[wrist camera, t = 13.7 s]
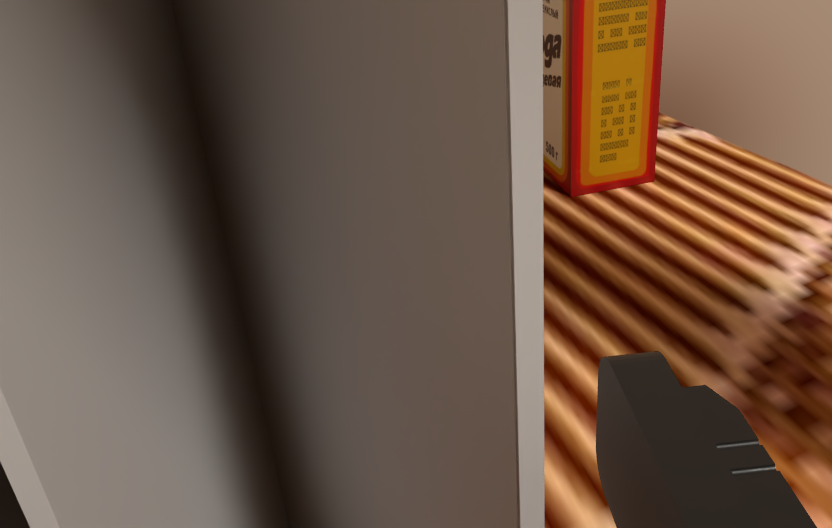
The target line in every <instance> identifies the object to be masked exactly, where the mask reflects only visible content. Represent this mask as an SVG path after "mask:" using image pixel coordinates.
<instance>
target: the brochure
mask: <svg viewBox="0 0 832 528" xmlns="http://www.w3.org/2000/svg"><path fill="white" fill-rule="evenodd" d="M0 462H1V464H2V466H3V469H4V471H5V473H6V475H7V477H8V480H9V482H10V484H11V486H12V489H13V491H14V493H15V495H16V497H17V500H18V502H19V504H20V506H21V509H22V511H23V513H24V515H25V517H26V520H27V522H28V524H29V526H30V528H544V254H543V0H0Z"/></svg>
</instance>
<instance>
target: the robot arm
mask: <svg viewBox="0 0 832 528" xmlns="http://www.w3.org/2000/svg"><path fill="white" fill-rule="evenodd" d="M596 455H597V464H598V470H599V476H600V480H601V484H602V488H603V491H604V494H605V497H606V500H607V502H608V505H609V508H610V510H611V513H612V516H613V518H614V521H615V524H616V526H617V528H817V527H816V525H815V524H814V522H813V521H812V519H811V518H810V516H809V515H808V513H807V512H806V510H805V509H804V507H803V506H802V504H801V503H800V501H799V500H798V498H797V497H796V495H795V494H794V492H793V491H792V489H791V488H790V486H789V485H788V483H787V482H786V480H785V479H784V477H783V475H782V474H781V472H780V471H776V469H775V463H774V462H773V460H772V459H771V457H770V456H769V454H768V453H767V451H766V450H765V448H764V447H763V445H759V442H758V438H757V436H756V435H755V433H754V432H753V430H752V429H751V427H750V426H749V424H748V423H747V421H746V420H745V418H744V417H743V415H742V414H741V412H740V411H739V409H738V408H736V407H735V406H734V405H732V404H731V403H730V402H728V401H727V400H725V399H724V398H723V397H721V396H720V395H719V394H717V393H716V392H714V391H713V390H712V389H710V388H709V387H708V386H706V385H701V386H692V387H683V388H682V386H681V385H680V383H679V381H678V379H677V378H676V376H675V374H674V373H673V371H672V369H671V368H670V366H669V364H668V362H667V361H666V359H665V357H664V356H663V355H662V354H661V353H660V352H659V351H654V352H645V353H635V354H626V355H617V356H608V357H602V358H601V360H600V363H599V371H598V400H597V430H596ZM0 528H30V526H29V524H28V522H27V520H26V517H25V515H24V513H23V511H22V509H21V506H20V504H19V502H18V500H17V497H16V495H15V493H14V491H13V489H12V486H11V484H10V482H9V480H8V477H7V475H6V473H5V471H4V469H3V466H2V464H1V462H0Z"/></svg>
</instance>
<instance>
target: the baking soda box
mask: <svg viewBox="0 0 832 528" xmlns="http://www.w3.org/2000/svg"><path fill="white" fill-rule="evenodd" d="M665 4H666V0H543V171H544V172H545V173H546V174H547V175H548V176H550V177H551V178H552V179H553V180H554V181H555V182H556V183H557V184H558V185H559V186H560V187H561V188H562V189H563V190H564V191H565V192H566V193H567V194H568V195H569V196H570V197H574V196H579V195H584V194H589V193H595V192H600V191H605V190H611V189H616V188H621V187H627V186H632V185H637V184H643V183H648V182H653V181H654V176H655V160H656V145H657V129H658V113H659V98H660V81H661V66H662V50H663V35H664V19H665Z"/></svg>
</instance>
